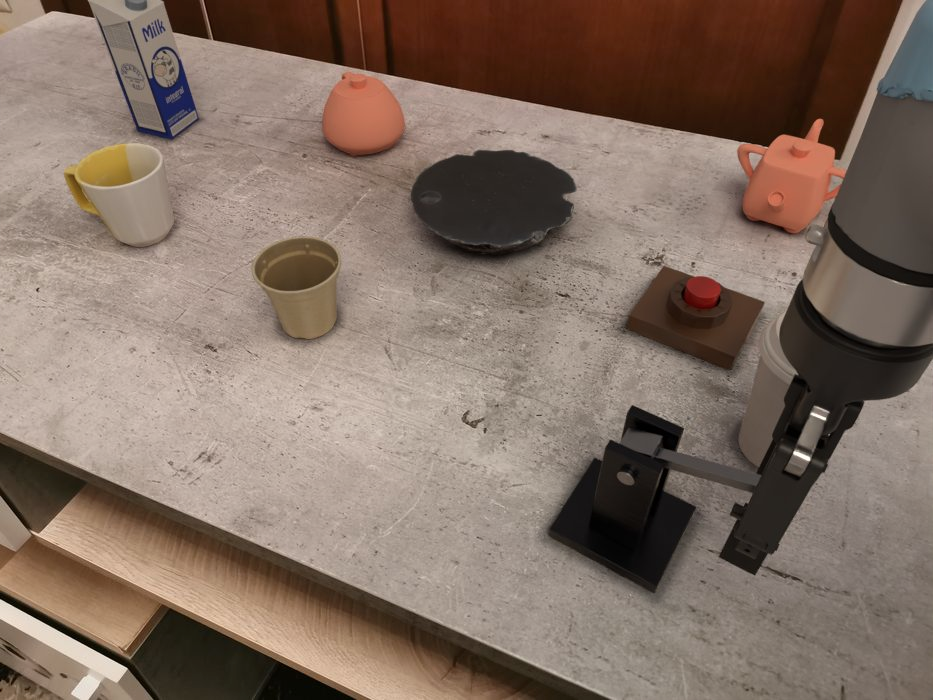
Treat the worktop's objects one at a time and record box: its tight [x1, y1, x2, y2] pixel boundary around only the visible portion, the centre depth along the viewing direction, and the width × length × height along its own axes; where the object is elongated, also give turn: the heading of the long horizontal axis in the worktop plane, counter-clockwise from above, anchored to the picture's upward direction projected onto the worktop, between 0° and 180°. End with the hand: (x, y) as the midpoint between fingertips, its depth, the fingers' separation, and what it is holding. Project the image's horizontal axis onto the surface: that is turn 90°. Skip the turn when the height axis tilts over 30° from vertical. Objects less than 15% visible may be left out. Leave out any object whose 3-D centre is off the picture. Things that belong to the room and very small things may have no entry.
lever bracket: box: [548, 404, 697, 594], centre depth 60 cm, size 10×9×13 cm
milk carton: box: [87, 0, 200, 141], centre depth 108 cm, size 7×7×20 cm
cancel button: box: [683, 275, 721, 309], centre depth 79 cm, size 4×4×2 cm
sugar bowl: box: [321, 71, 406, 157], centre depth 107 cm, size 12×14×10 cm
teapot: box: [736, 118, 847, 234], centre depth 93 cm, size 14×12×10 cm
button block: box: [625, 265, 765, 371], centre depth 81 cm, size 12×10×4 cm
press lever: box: [619, 427, 761, 494], centre depth 54 cm, size 12×6×2 cm, turn 57°
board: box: [410, 149, 578, 256], centre depth 94 cm, size 22×22×5 cm
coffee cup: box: [738, 309, 798, 468], centre depth 65 cm, size 10×10×15 cm
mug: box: [63, 142, 175, 248], centre depth 92 cm, size 14×10×10 cm
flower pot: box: [251, 235, 342, 340], centre depth 80 cm, size 9×9×9 cm
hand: (753, 527), depth 55 cm, fingers open, 6 cm apart
